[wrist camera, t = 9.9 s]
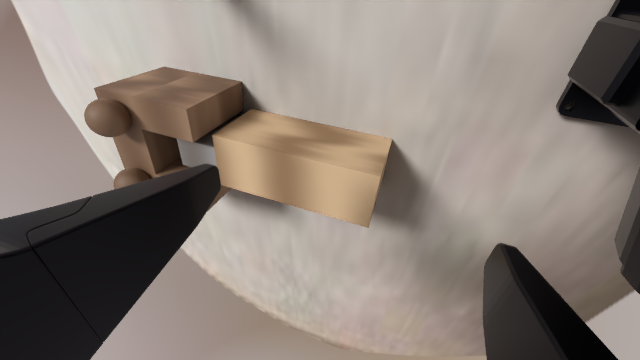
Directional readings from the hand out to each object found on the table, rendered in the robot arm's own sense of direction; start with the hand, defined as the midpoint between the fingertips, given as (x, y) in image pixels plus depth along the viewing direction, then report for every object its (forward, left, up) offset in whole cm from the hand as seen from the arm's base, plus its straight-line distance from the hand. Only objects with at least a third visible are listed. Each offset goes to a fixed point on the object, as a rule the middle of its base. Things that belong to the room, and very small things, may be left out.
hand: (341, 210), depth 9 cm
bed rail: (+6, +5, -12) cm, 14 cm away
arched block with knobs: (+14, +5, -12) cm, 19 cm away
